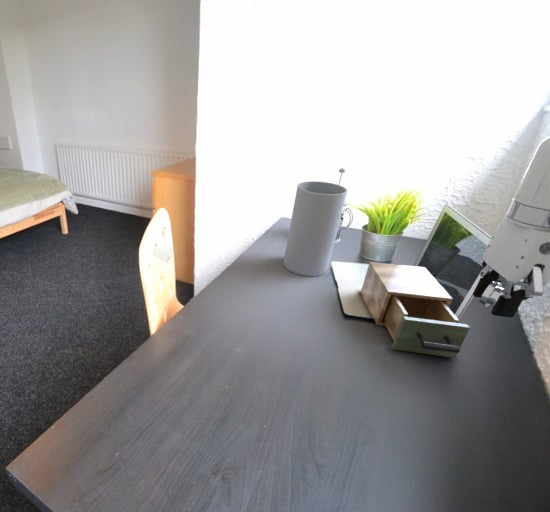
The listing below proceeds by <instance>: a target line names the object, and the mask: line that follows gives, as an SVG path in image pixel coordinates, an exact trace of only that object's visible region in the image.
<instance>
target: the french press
mask: <svg viewBox="0 0 550 512" xmlns="http://www.w3.org/2000/svg"><path fill="white" fill-rule="evenodd" d="M338 172H339V173H340V177H339V182H338V185H340V184H341V181H342V176H343V174H345V173H346V169H345V168H343V167H342V168H340V169H338ZM348 204H349V201H347V200H346V199H345V202H344V206H343V207H346V206H347V205H348ZM346 212H347V213H348V216H349V222H348V224H347V225H346V226H344V227H343V223H344V220H345V218H344V217H343V216H344V213H346ZM353 221H354V215H353V212H352V211H351V209H350V208H349V207H346V208H343V210H342V214H341V218H340V222H339V226H338V230H337V234H336V238H335V242H334V244H336V243H340V242H341V233H342V230H345V229H347V228H349V227H350V226H351V225H352V223H353Z"/></svg>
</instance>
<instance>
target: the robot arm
mask: <svg viewBox="0 0 550 512" xmlns="http://www.w3.org/2000/svg"><path fill="white" fill-rule="evenodd" d="M481 259H482V263H481V266H482V270H481V271H480V273H479V277H480V278H479V280H478V282H477V284H476V287H475V288H474V291H473V292H472V296H473V297H474V298H479V299H481V296H482V295H483V293H484V291H485V290H486V288H487V287H488V286H489V285H490V284H491V283H492V282H493V281H496V282H499V283H501V284H502V282H503V281H502V280H501V278H504V279H505V280H506V284H505V287H504V288H505V292H504V295H500V296H499V298H498V300H497V302H496V304H495V306H494V307H493V309H492V308H491V311H490V314H491V315H493V316H495V317H504V318H514V317H515V315H516V313H517V311H518V309H519V308H520V306H521V304H522V302H523V301H528V299H531V298H536V297H540V296H543V295H544V287H546V286H547V284H549V282H550V136H547V137H546V138H544V139H543V140H542V141H541V142H539V144H538V146H537V148H536V151H534V154H533V157H532V158H531V161H530V163H529V165H528V167H527V168H526V171H525V173H524V176H523V178H522V180H521V182H520V184H519V185H518V188H517V190H516V192H515V195H514V197H513V198H512V201H511V203H510V205H509V207H508V209H507V212H506V213H505V216H504V217H503V219H502V220H501V222H500V223H499V225H498V226H497V228H496V229H495V231H494V233H493V235H492V237H491V238H490V240H489V241H488V244H487V245H486V249H485V250H483V251H482V252H481ZM522 280H523V281H522ZM516 286H520V289H515V287H516Z"/></svg>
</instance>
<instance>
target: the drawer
mask: <svg viewBox="0 0 550 512" xmlns="http://www.w3.org/2000/svg"><path fill="white" fill-rule="evenodd" d="M382 320H383V322H384V324H385V325H386V326H385V327H386V329H387V331H388V333H389V335H390V337H391V338H392V341H393V342H392V344H391V347H392V348H393V350H396V351H397V350H398V351H402V352H403V351H404V352H412V353H418V354H425V355H430V356H439V357H445V358H451V359H452V358H453V359H456V357H457V355H458V354H459V353H460V351H461V347H462V345H463V343H464V342H465V339H466V337H467V335H468V333H469V331H470V329H471V327H470V325H468V324H467V323H460V319H459V318H458V317H457V316H456V314H454V312H453V311H452V310H451V309H450V307H449V308H448V306H447V305H446V304H445V303H444V302H443V301H440V300H431V299H423V298H414V297H405V296H396V295H391V297H390V299H389V302H388V305H387V308H386V311H385V314H384V316H383V319H382Z"/></svg>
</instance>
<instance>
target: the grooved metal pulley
mask: <svg viewBox="0 0 550 512" xmlns="http://www.w3.org/2000/svg"><path fill="white" fill-rule="evenodd" d="M502 285H503V284H502V282H501V283H499V282H496V281H493V282H492V283H491V284H490V285H489V286H488V287H487V288H486V290H485V291H484V293H483V295H482V296H481V298H479V300H478V301H479V302H478V304H479V305H480V306H481V307H485V308H488V307H489V306H491V310H492V309H493V307H494V306H495V304H496V302H497V300H498V298H499V296H500V295H504V292H505V287H503V286H502Z"/></svg>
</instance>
